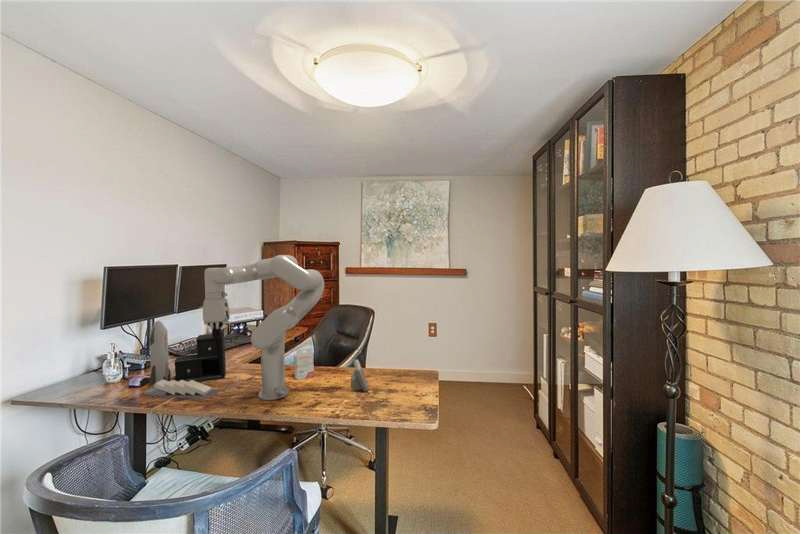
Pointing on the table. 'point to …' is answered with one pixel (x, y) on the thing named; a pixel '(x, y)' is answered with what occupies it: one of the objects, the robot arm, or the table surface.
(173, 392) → the domino
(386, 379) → the table surface
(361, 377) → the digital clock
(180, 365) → the black desk organizer
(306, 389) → the table surface
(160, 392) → the domino
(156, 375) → the rocket model
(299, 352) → the ink cartridge box
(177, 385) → the domino
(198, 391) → the domino
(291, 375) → the table surface
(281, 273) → the robot arm
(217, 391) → the mat
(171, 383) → the domino
